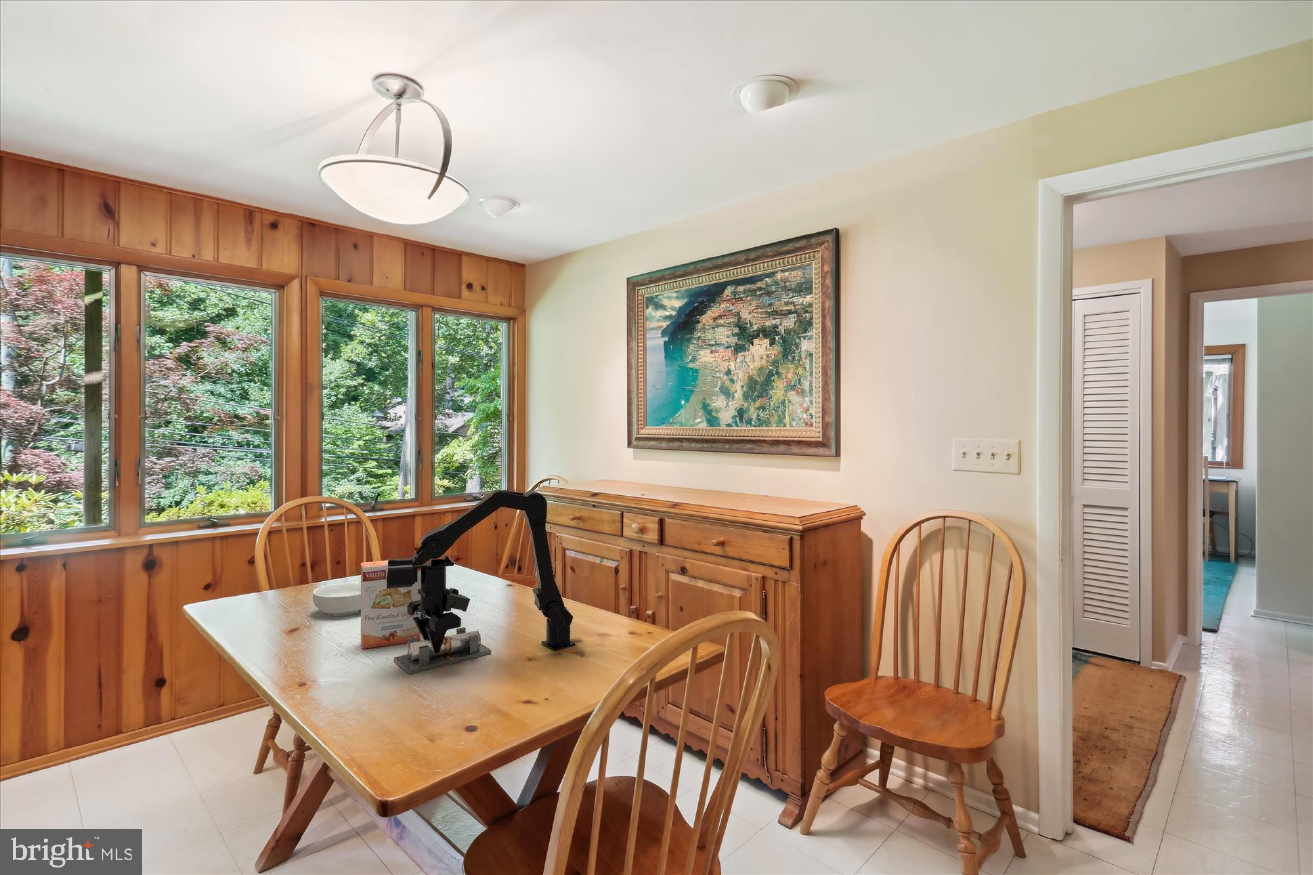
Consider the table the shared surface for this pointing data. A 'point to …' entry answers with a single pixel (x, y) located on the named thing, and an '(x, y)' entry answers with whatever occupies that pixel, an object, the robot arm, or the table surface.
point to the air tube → (444, 645)
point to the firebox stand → (440, 660)
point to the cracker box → (386, 608)
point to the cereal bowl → (338, 598)
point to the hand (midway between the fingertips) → (433, 650)
